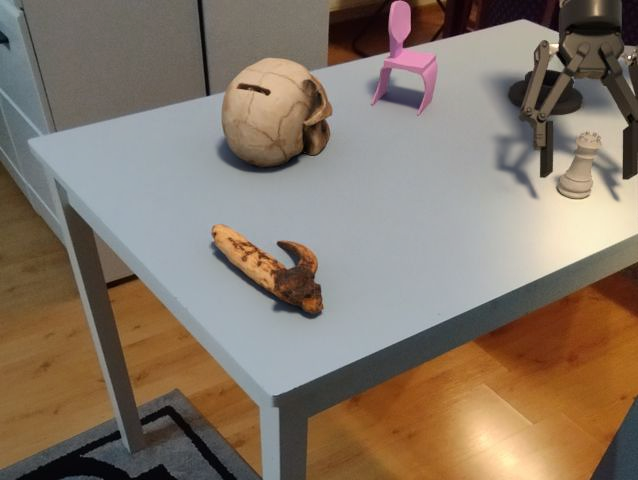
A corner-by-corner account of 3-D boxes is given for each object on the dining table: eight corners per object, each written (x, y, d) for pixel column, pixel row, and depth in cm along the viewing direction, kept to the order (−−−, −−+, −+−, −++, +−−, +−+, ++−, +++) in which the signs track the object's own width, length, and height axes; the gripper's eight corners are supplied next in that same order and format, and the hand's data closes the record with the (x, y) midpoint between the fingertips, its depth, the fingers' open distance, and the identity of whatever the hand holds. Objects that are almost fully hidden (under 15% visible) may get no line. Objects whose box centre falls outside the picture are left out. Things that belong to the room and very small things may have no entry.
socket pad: (570, 85, 118) (576, 65, 116) (590, 115, 110) (596, 94, 107) (502, 84, 118) (506, 63, 116) (515, 113, 110) (520, 92, 107)
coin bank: (326, 117, 107) (327, 31, 96) (340, 183, 95) (341, 94, 85) (226, 123, 106) (216, 37, 95) (227, 191, 94) (216, 102, 84)
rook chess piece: (571, 179, 94) (588, 124, 89) (597, 193, 92) (616, 138, 86) (549, 188, 92) (565, 132, 87) (575, 203, 90) (593, 146, 84)
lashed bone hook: (360, 297, 75) (258, 225, 84) (365, 262, 72) (258, 192, 81) (296, 332, 70) (195, 251, 79) (298, 296, 67) (193, 217, 76)
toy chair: (419, 118, 108) (432, 17, 97) (368, 107, 110) (375, 7, 100) (436, 99, 113) (450, 1, 103) (387, 88, 116) (395, -8, 105)
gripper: (662, 22, 92) (661, 185, 91) (494, 17, 92) (492, 181, 91) (693, -9, 84) (692, 169, 83) (510, -14, 84) (508, 164, 83)
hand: (588, 175), depth 87 cm, fingers open, 10 cm apart
